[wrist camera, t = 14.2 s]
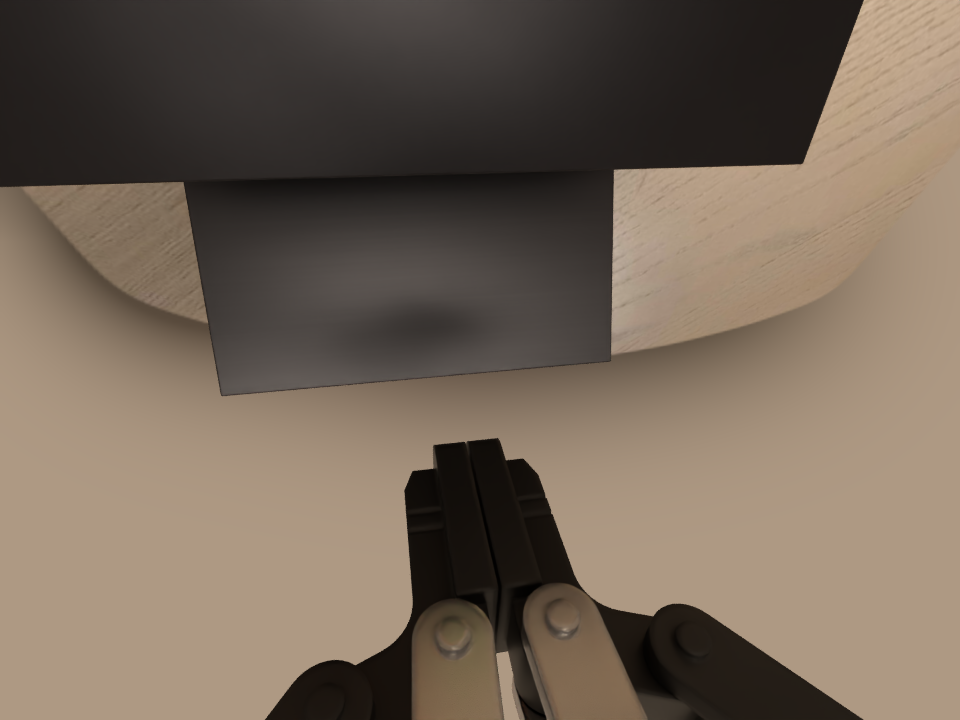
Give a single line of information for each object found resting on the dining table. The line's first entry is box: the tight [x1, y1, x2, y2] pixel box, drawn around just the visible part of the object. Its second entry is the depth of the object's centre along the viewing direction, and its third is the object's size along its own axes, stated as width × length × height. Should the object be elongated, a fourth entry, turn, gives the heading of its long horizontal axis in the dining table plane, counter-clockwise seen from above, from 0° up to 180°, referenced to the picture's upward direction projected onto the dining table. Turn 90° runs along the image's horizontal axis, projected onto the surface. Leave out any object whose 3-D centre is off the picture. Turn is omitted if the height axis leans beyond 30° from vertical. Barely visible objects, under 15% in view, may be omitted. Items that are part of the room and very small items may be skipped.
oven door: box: [184, 170, 614, 396], centre depth 28 cm, size 20×7×12 cm
